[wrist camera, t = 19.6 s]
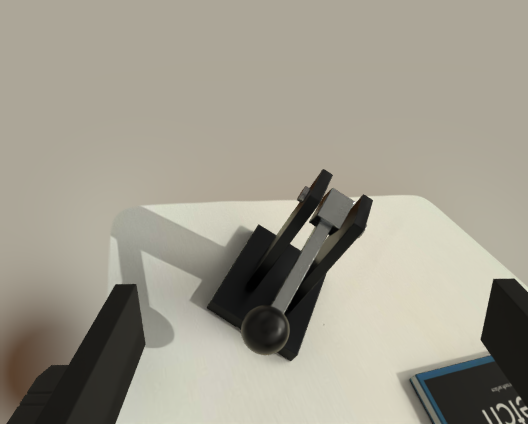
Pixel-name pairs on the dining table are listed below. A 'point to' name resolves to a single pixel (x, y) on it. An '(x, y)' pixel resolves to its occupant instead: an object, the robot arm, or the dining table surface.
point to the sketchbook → (470, 394)
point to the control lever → (294, 279)
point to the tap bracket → (286, 266)
